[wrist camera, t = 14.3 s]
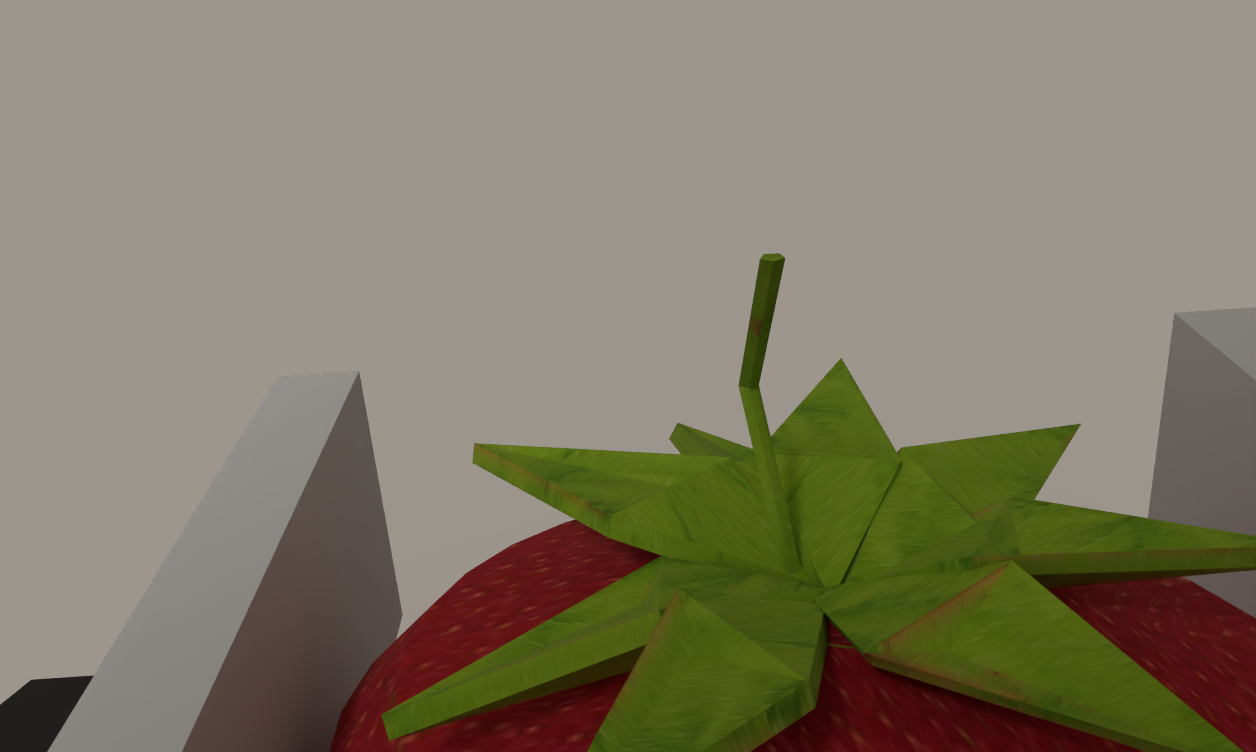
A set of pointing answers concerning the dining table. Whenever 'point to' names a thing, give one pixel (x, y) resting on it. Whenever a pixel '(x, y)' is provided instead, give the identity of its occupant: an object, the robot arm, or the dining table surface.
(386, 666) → the strawberry
